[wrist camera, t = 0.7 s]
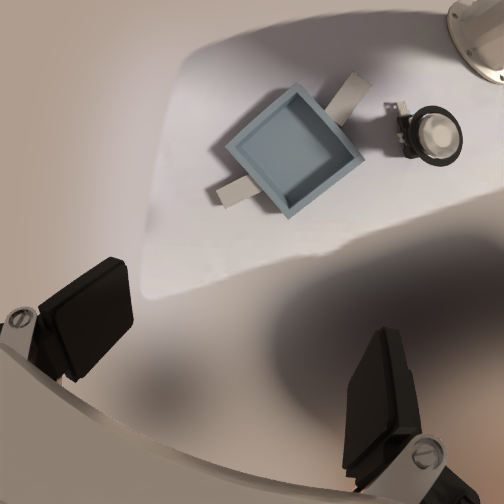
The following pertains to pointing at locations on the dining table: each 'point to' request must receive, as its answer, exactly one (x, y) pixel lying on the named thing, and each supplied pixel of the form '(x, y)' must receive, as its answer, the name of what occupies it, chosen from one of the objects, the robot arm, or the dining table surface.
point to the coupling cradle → (295, 148)
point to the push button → (430, 135)
